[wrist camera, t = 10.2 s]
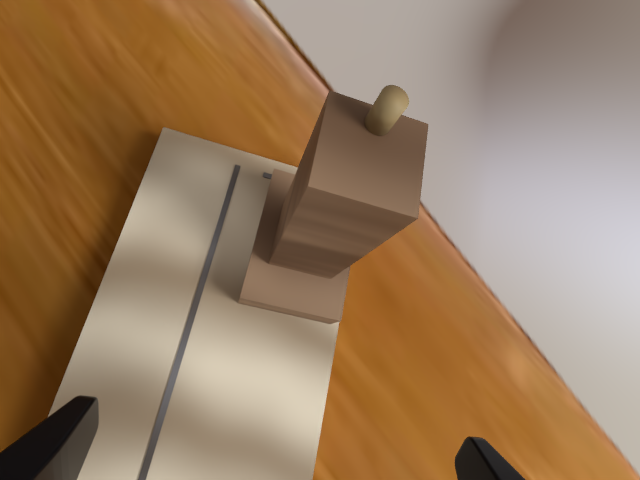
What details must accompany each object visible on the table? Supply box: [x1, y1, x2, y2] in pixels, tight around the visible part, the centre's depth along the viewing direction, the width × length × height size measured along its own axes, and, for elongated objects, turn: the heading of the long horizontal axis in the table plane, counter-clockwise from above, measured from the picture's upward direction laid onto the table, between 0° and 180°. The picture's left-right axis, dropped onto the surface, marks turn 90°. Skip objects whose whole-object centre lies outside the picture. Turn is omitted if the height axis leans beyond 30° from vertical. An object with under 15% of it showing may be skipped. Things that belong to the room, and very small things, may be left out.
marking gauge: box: [238, 85, 428, 324], centre depth 15 cm, size 7×5×12 cm
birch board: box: [48, 127, 339, 480], centre depth 20 cm, size 18×12×2 cm, turn 169°
